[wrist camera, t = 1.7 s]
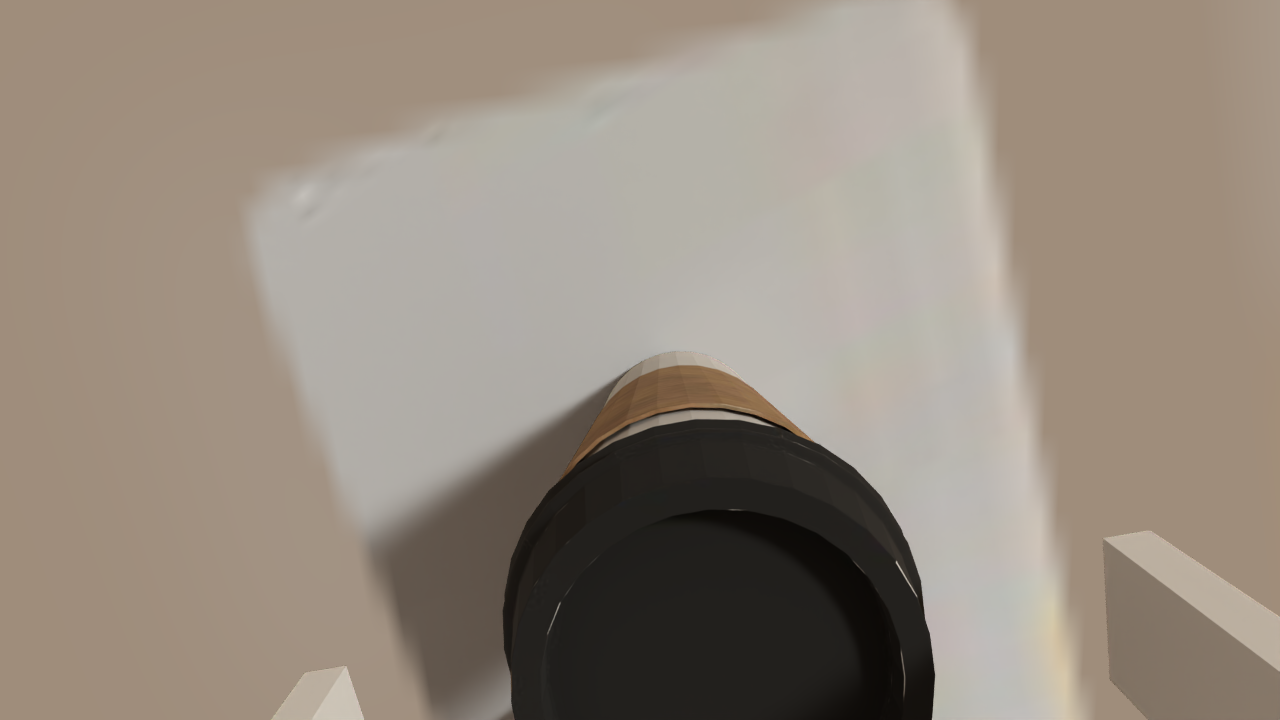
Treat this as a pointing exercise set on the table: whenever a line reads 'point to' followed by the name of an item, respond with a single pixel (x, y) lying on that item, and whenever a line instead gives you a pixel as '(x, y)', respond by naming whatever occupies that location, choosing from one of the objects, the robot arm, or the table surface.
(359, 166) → the table surface
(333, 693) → the robot arm
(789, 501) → the coffee cup
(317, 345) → the table surface
